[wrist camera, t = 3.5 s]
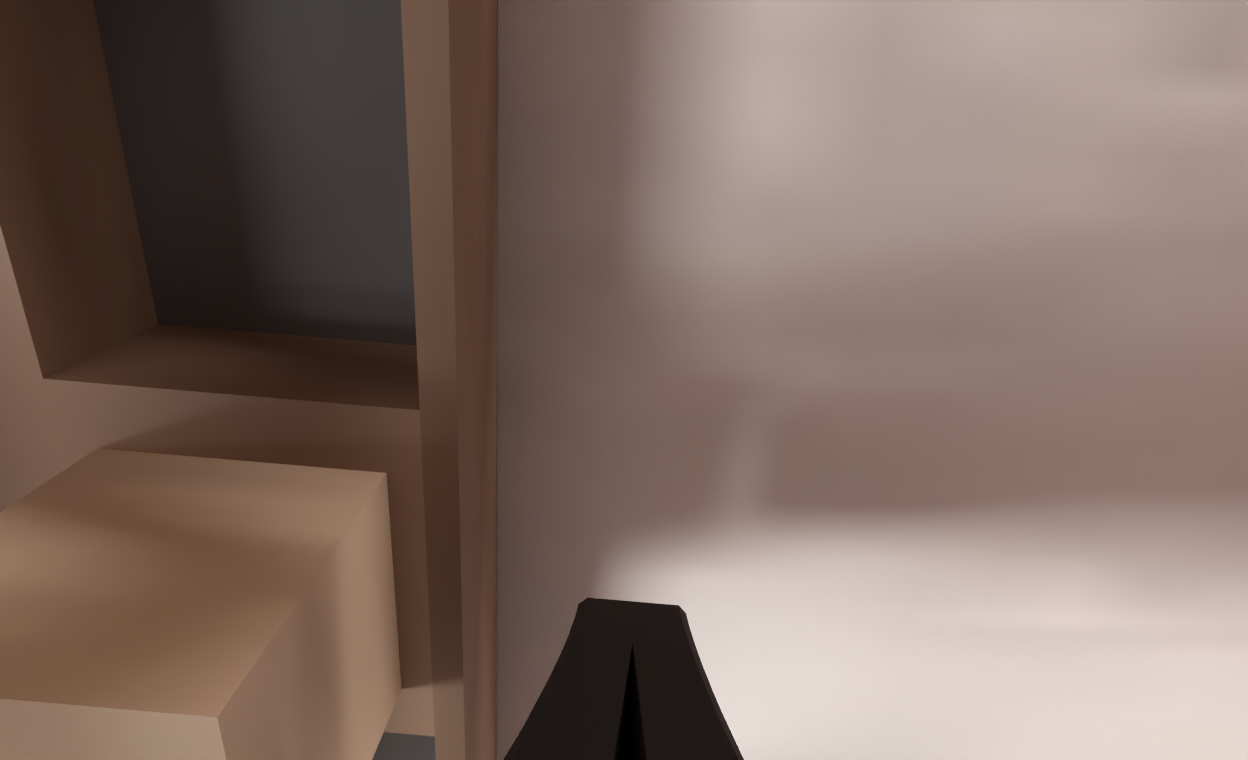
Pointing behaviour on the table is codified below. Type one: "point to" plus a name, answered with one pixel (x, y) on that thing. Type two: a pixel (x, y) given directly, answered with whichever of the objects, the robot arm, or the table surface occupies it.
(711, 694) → the robot arm
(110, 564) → the maple block
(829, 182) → the table surface
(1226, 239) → the table surface
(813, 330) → the table surface
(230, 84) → the trap box
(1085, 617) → the table surface
